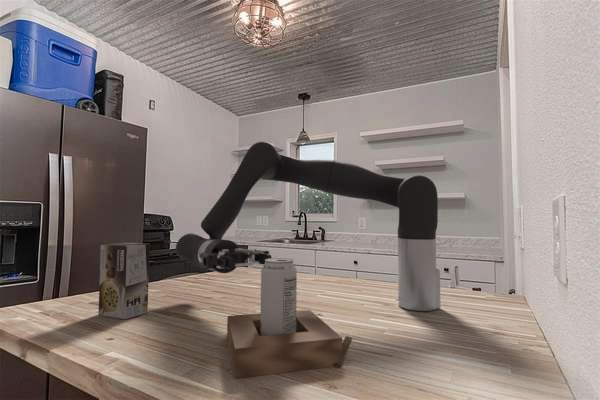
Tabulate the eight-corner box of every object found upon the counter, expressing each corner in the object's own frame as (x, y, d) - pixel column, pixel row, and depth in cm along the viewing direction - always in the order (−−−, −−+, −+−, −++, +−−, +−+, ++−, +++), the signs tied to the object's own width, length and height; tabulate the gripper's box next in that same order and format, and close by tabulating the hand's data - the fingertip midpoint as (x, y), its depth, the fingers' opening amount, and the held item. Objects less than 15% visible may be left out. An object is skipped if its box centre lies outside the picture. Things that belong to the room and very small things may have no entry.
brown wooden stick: (345, 335, 61) (352, 336, 61) (345, 340, 61) (352, 341, 60) (331, 362, 49) (340, 363, 48) (331, 369, 49) (340, 370, 48)
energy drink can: (271, 340, 59) (272, 256, 60) (301, 346, 56) (302, 258, 57) (252, 353, 53) (254, 260, 54) (285, 360, 51) (286, 262, 52)
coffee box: (149, 312, 76) (151, 243, 77) (123, 320, 70) (126, 245, 71) (122, 308, 80) (125, 241, 81) (96, 315, 74) (99, 243, 75)
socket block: (309, 330, 65) (309, 309, 65) (342, 365, 49) (342, 337, 50) (227, 338, 60) (227, 315, 60) (234, 378, 45) (235, 348, 45)
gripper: (188, 240, 73) (216, 244, 60) (245, 238, 82) (281, 240, 69) (188, 274, 73) (216, 285, 60) (245, 268, 81) (281, 276, 68)
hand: (250, 261), depth 64 cm, fingers open, 8 cm apart
